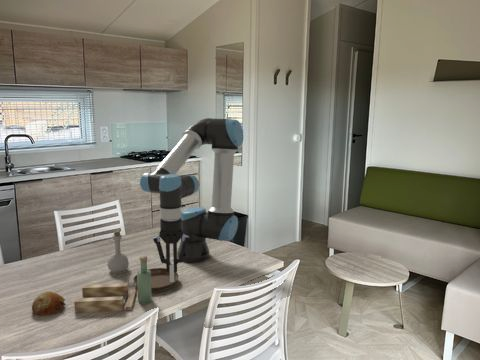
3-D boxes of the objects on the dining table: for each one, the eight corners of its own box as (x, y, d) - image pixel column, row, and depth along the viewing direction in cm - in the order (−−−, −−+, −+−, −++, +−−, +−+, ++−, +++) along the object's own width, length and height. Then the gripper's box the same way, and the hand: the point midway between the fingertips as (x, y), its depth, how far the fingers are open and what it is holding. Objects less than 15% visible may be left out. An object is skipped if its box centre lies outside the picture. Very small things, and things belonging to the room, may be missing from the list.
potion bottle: (123, 275, 171) (121, 234, 167) (104, 273, 172) (101, 232, 169) (133, 267, 179) (131, 228, 175) (114, 265, 181) (112, 226, 177)
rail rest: (136, 292, 156) (135, 282, 155) (131, 309, 143) (130, 299, 142) (84, 294, 154) (83, 284, 153) (75, 312, 141) (74, 301, 140)
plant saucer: (157, 298, 152) (157, 291, 152) (124, 286, 161) (123, 279, 161) (187, 281, 167) (187, 274, 166) (155, 271, 176) (155, 264, 175)
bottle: (152, 296, 153) (151, 254, 149) (151, 303, 148) (149, 259, 145) (138, 297, 152) (137, 254, 149) (137, 304, 147) (135, 260, 144)
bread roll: (46, 311, 149) (34, 293, 147) (71, 299, 149) (60, 281, 147) (34, 326, 139) (22, 307, 137) (62, 313, 139) (50, 294, 137)
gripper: (189, 215, 150) (189, 275, 154) (153, 215, 148) (154, 276, 153) (189, 220, 142) (189, 284, 147) (151, 221, 141) (153, 285, 145)
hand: (172, 280), depth 150 cm, fingers closed
